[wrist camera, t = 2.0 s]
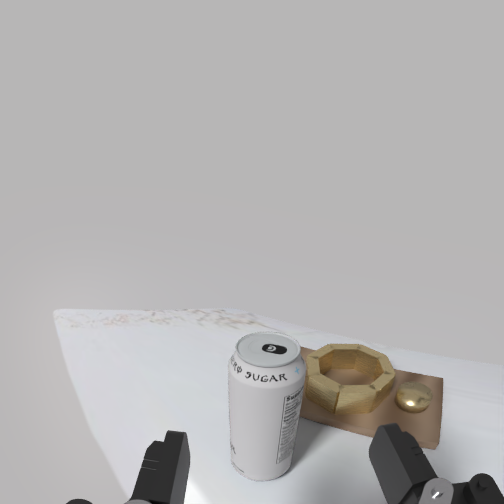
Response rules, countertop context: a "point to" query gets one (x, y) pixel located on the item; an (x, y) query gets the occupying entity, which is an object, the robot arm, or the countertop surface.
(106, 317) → the countertop surface
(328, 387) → the brass socket ring
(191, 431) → the countertop surface
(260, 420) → the energy drink can
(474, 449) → the countertop surface
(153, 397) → the countertop surface
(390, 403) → the walnut carrier plate
